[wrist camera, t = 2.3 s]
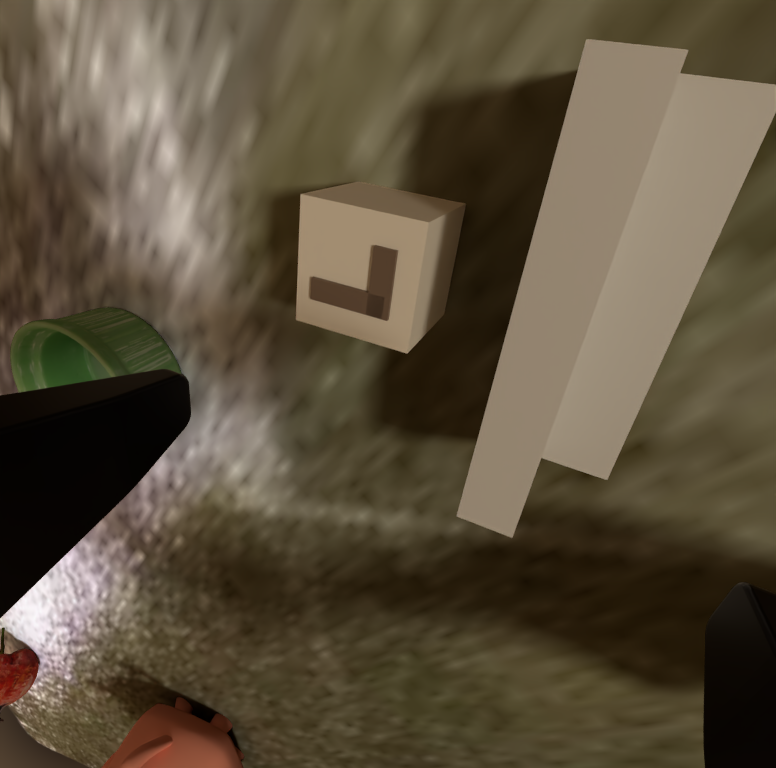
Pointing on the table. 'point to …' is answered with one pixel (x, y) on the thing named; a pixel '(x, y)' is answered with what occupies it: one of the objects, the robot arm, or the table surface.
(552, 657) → the table surface
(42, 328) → the ramekin
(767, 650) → the robot arm
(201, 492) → the table surface
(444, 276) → the letter block
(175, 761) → the pink rounded piece
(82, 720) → the table surface
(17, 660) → the red apple
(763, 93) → the grey screen
